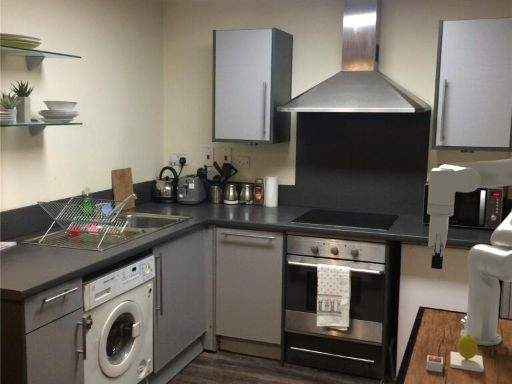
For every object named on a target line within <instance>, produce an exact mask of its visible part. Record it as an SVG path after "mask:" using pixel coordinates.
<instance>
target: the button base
mask: <svg viewBox="0 0 512 384" xmlns="http://www.w3.org/2000/svg"><path fill="white" fill-rule="evenodd" d="M431 356H432V355H429V354H428V355H427V357H426V358H427V359H426V371H431V372H438V373H443V370H444V369H443V367H444V357H442V356H438V357H439V358H440V363H437V362H431V361H430V357H431Z"/></svg>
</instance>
